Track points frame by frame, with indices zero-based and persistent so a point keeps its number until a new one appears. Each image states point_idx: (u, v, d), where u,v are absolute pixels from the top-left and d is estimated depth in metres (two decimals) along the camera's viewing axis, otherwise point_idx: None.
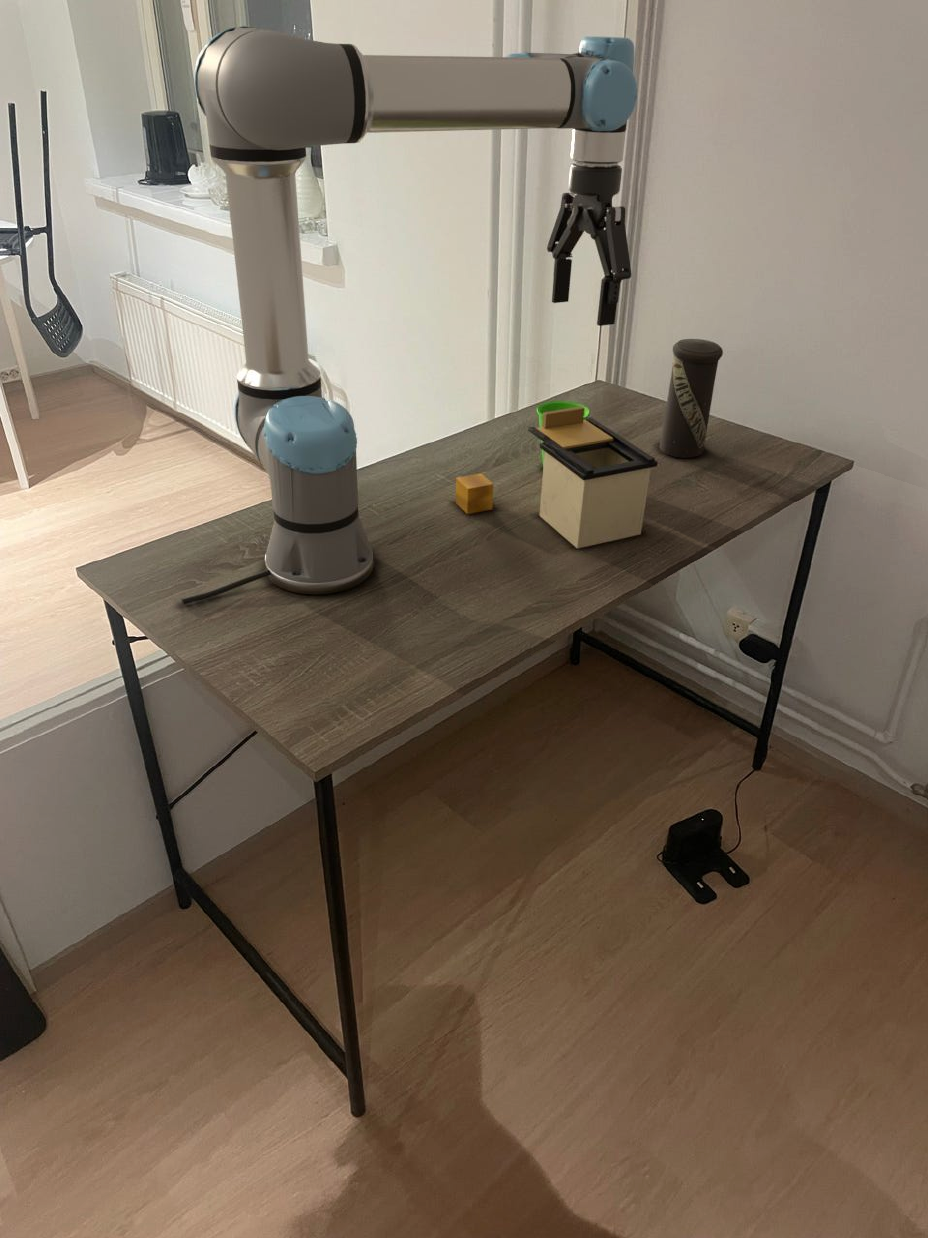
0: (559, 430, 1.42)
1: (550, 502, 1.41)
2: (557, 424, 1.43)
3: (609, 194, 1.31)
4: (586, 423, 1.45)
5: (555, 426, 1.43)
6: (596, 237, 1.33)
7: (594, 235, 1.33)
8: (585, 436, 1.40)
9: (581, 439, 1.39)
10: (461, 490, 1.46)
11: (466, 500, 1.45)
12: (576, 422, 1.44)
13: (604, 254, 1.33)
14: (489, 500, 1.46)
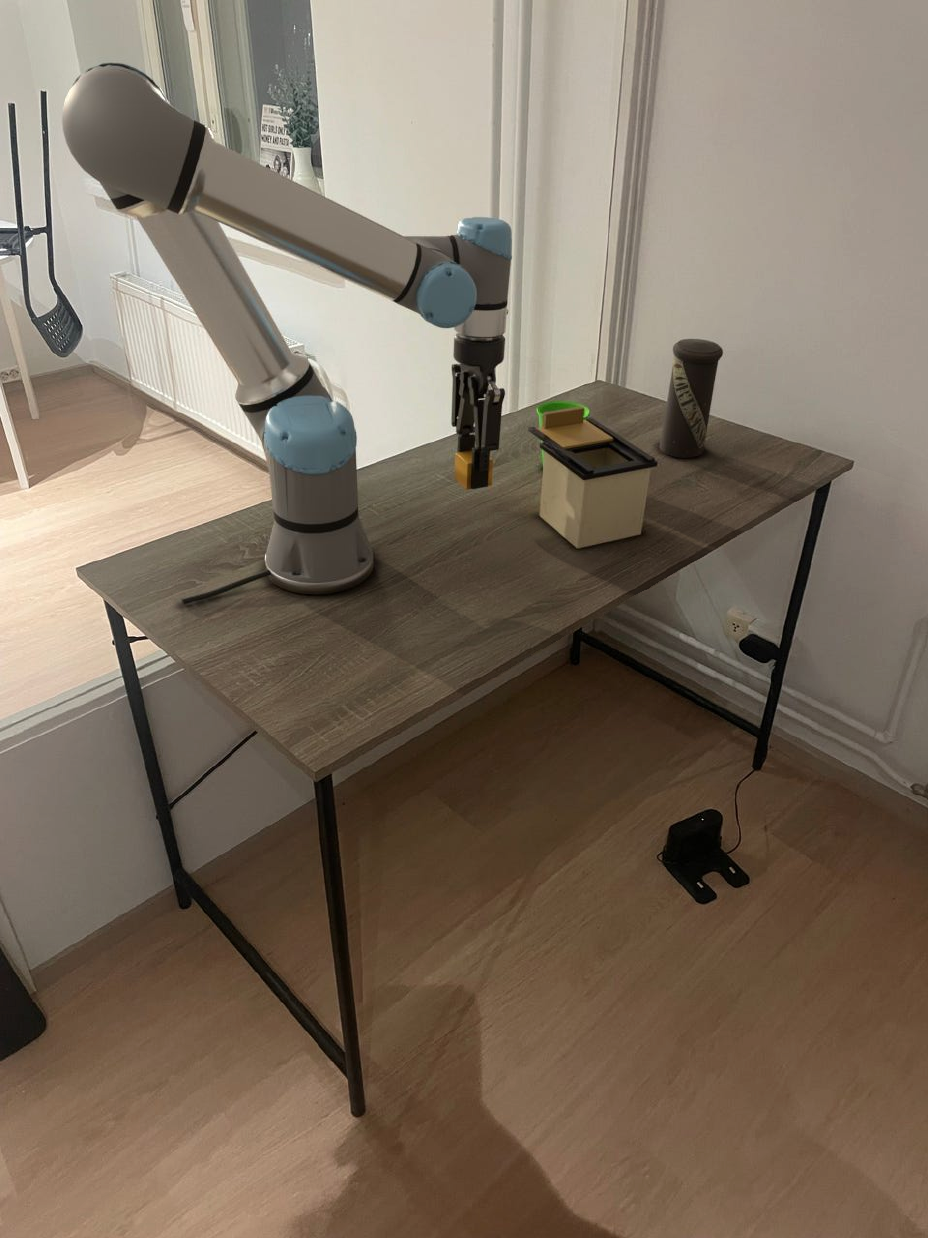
0: (559, 430, 1.42)
1: (550, 502, 1.41)
2: (557, 424, 1.43)
3: (491, 365, 1.32)
4: (586, 423, 1.45)
5: (555, 426, 1.43)
6: (475, 407, 1.36)
7: (473, 405, 1.36)
8: (585, 436, 1.40)
9: (581, 439, 1.39)
10: (460, 466, 1.43)
11: (465, 475, 1.42)
12: (576, 422, 1.44)
13: (478, 427, 1.37)
14: (489, 476, 1.44)
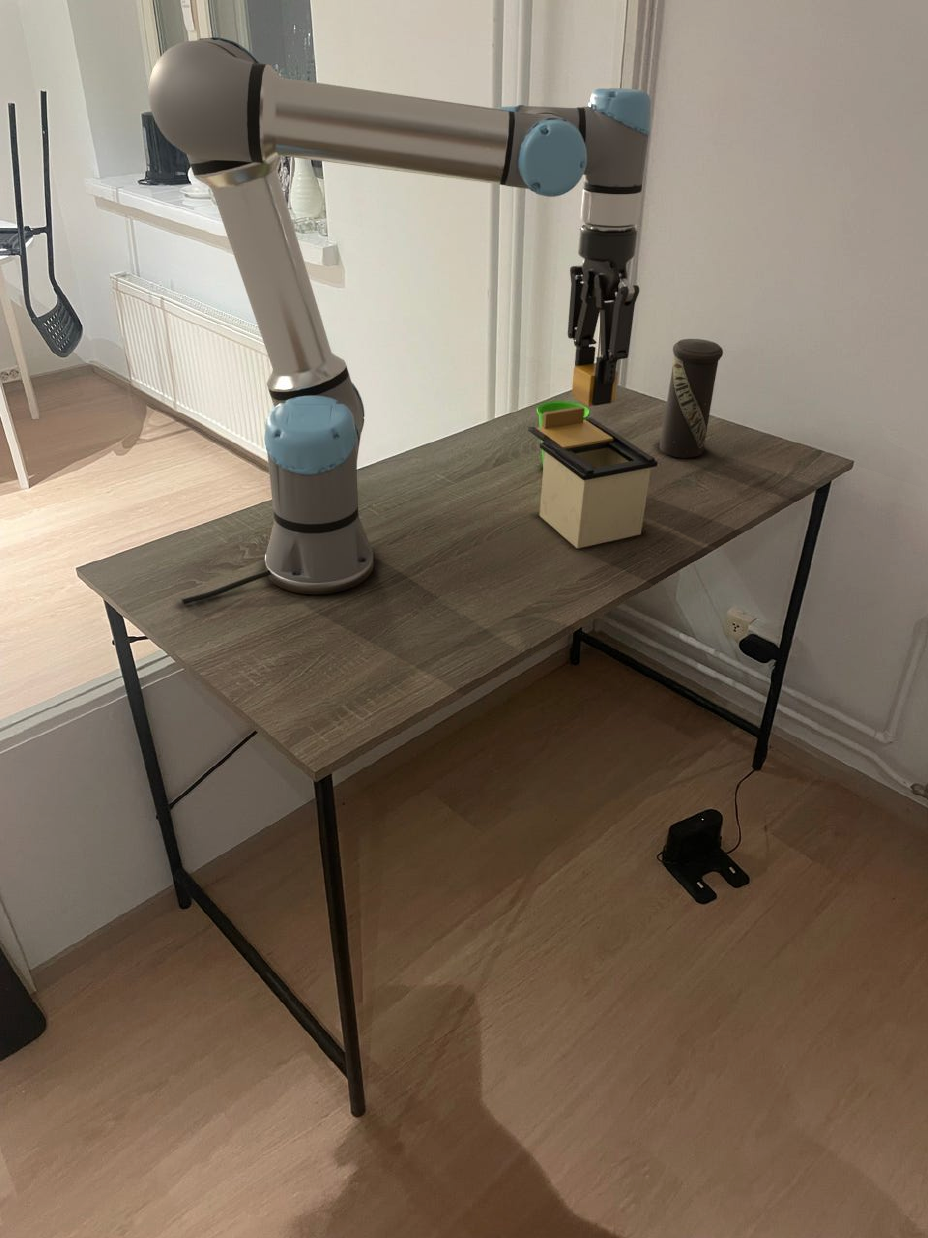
0: (559, 430, 1.42)
1: (550, 502, 1.41)
2: (557, 424, 1.43)
3: (623, 260, 1.18)
4: (586, 423, 1.45)
5: (555, 426, 1.43)
6: (602, 309, 1.22)
7: (600, 307, 1.22)
8: (585, 436, 1.40)
9: (581, 439, 1.39)
10: (581, 380, 1.30)
11: (587, 390, 1.29)
12: (576, 422, 1.44)
13: (605, 332, 1.23)
14: (612, 391, 1.30)
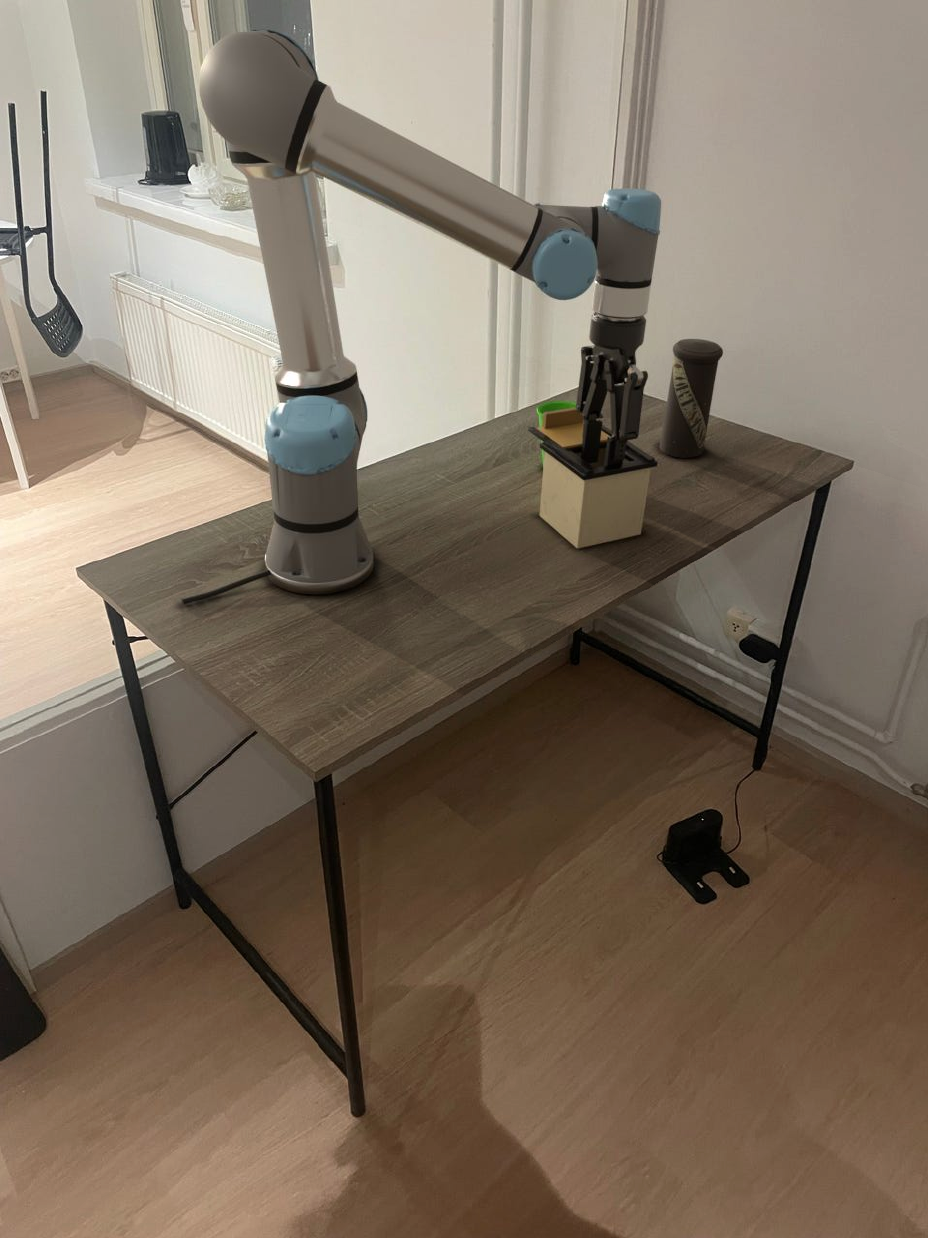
0: (559, 430, 1.42)
1: (550, 502, 1.41)
2: (557, 424, 1.43)
3: (632, 348, 1.24)
4: None
5: (555, 426, 1.43)
6: (612, 392, 1.28)
7: (610, 390, 1.27)
8: None
9: (581, 439, 1.39)
10: None
11: None
12: (576, 422, 1.44)
13: (615, 414, 1.28)
14: None
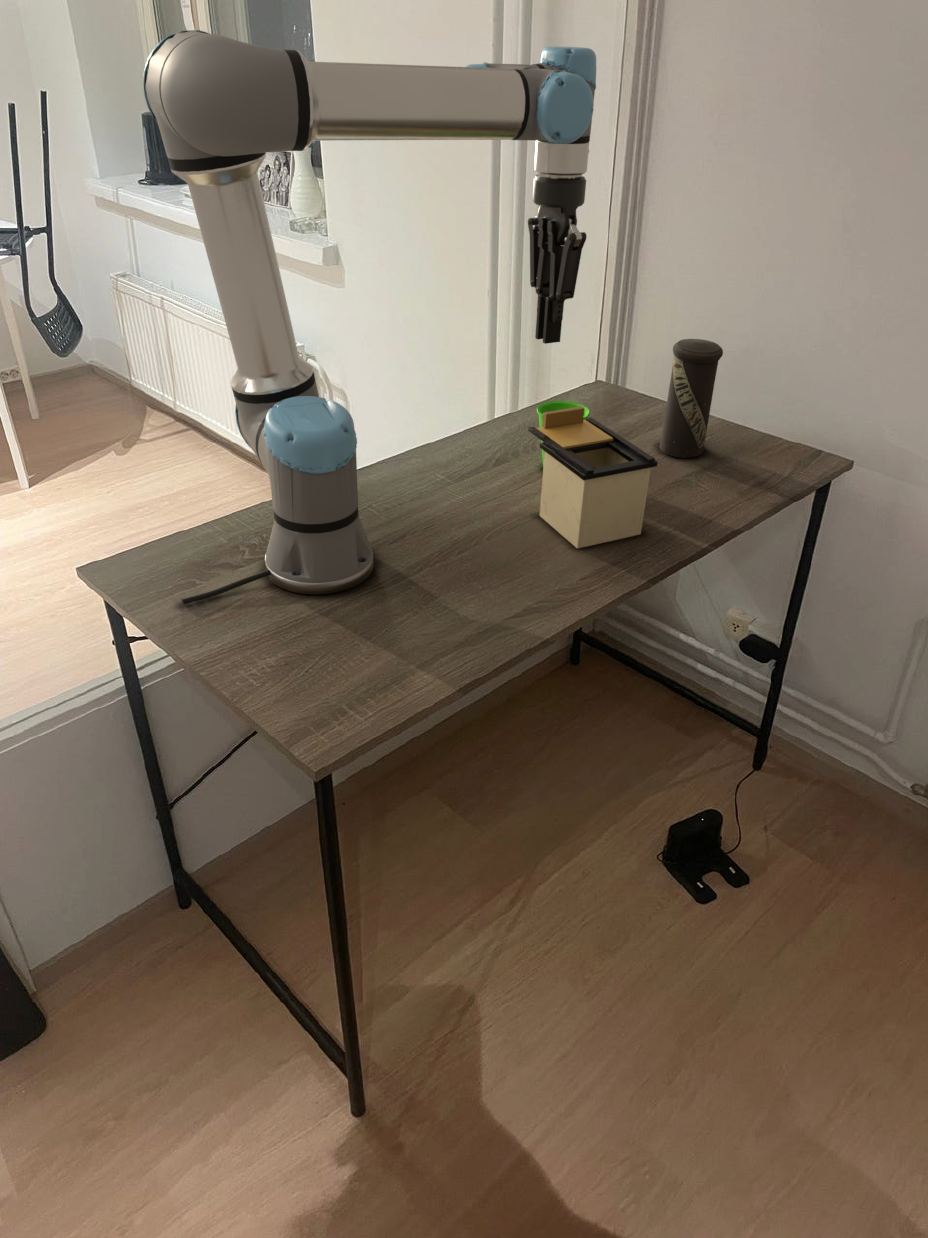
0: (559, 430, 1.42)
1: (550, 502, 1.41)
2: (557, 424, 1.43)
3: (573, 206, 1.29)
4: (586, 423, 1.45)
5: (555, 426, 1.43)
6: (552, 253, 1.33)
7: (551, 251, 1.33)
8: (585, 436, 1.40)
9: (581, 439, 1.39)
10: None
11: None
12: (576, 422, 1.44)
13: (554, 275, 1.35)
14: None
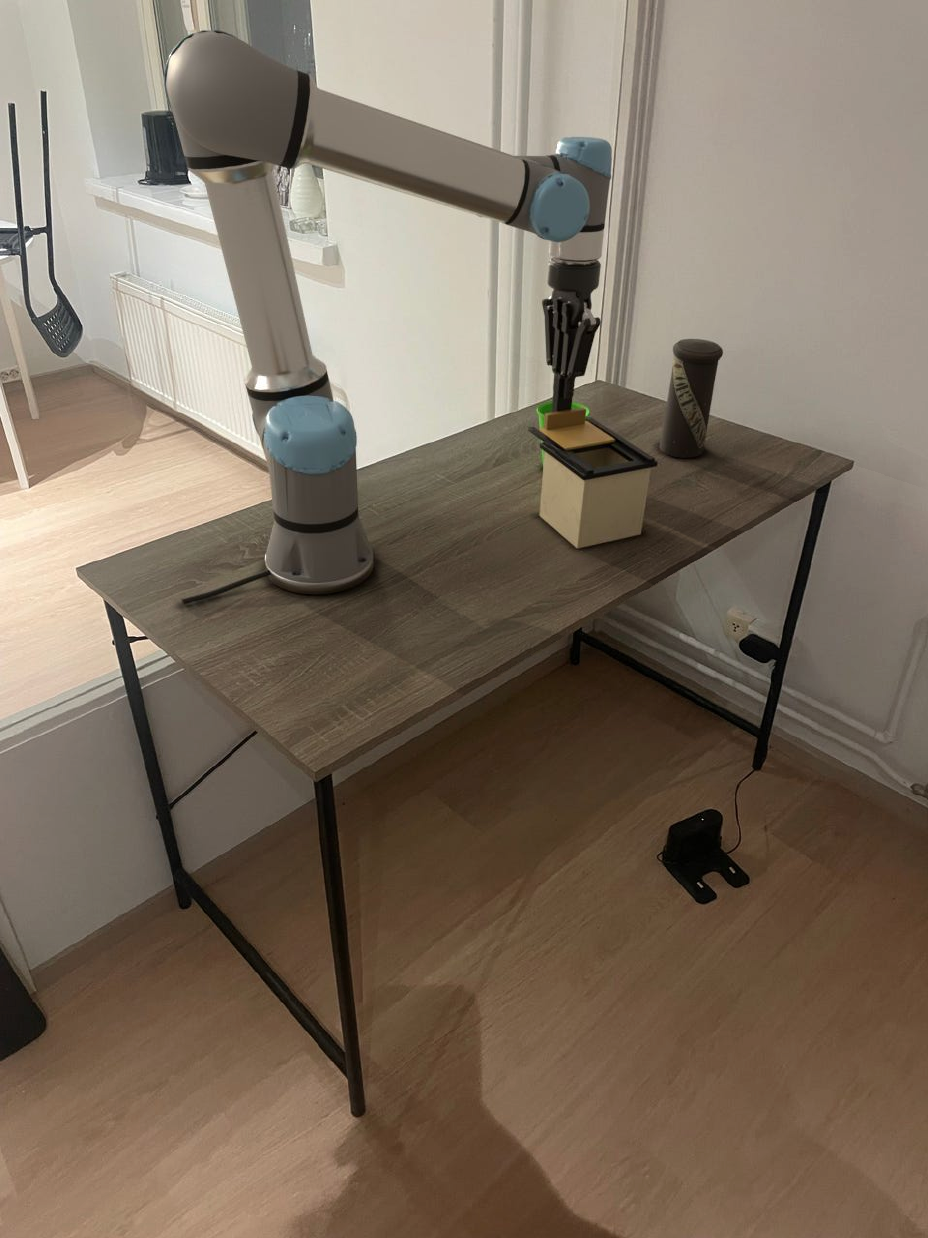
0: (561, 431, 1.42)
1: (550, 502, 1.41)
2: (559, 425, 1.43)
3: (588, 290, 1.30)
4: (588, 424, 1.44)
5: (557, 427, 1.43)
6: (566, 334, 1.35)
7: (564, 332, 1.35)
8: (586, 437, 1.40)
9: (583, 440, 1.39)
10: None
11: None
12: (578, 423, 1.44)
13: (566, 354, 1.36)
14: None
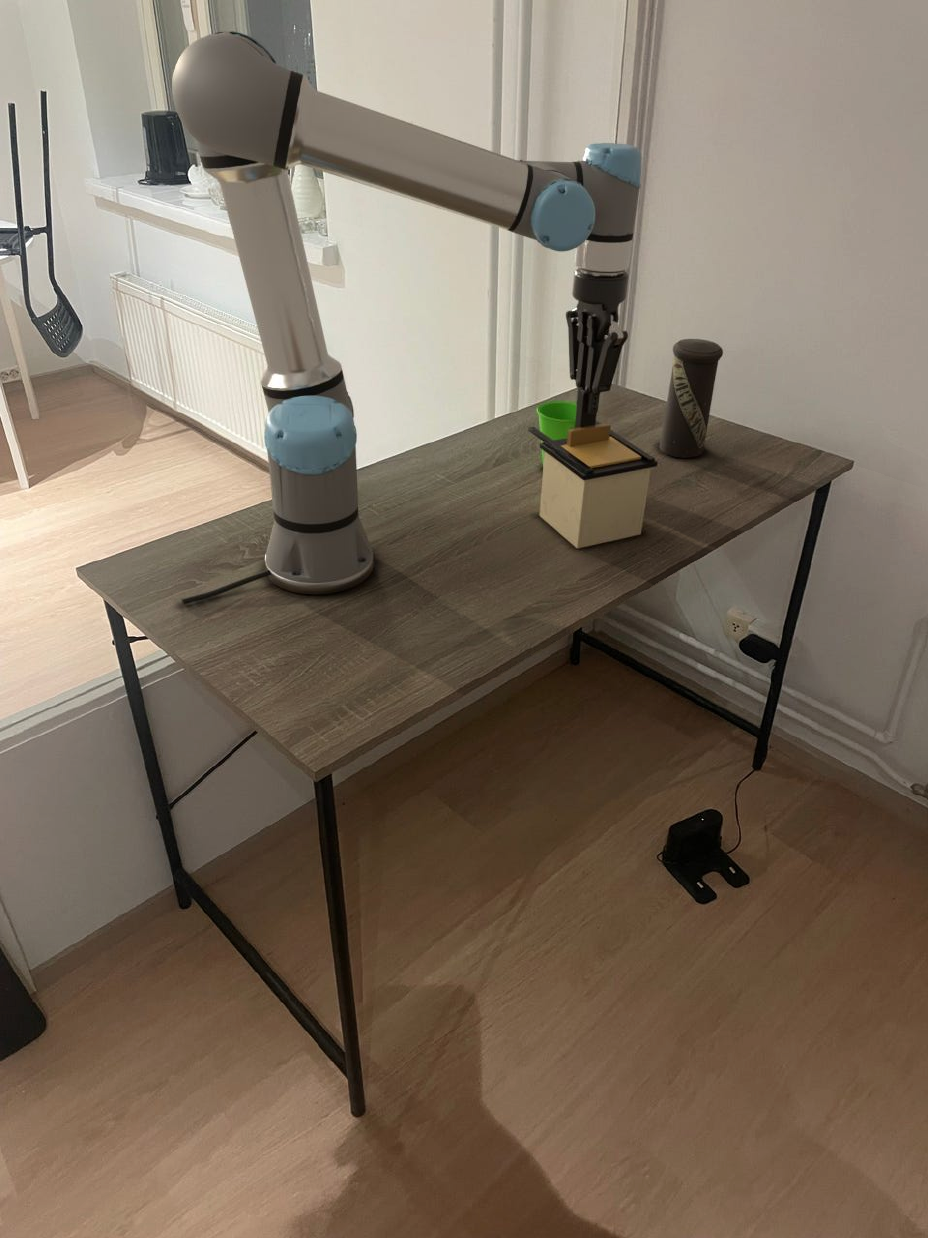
0: (584, 448, 1.36)
1: (550, 502, 1.41)
2: (582, 442, 1.37)
3: (615, 303, 1.25)
4: (612, 440, 1.39)
5: (580, 444, 1.37)
6: (591, 347, 1.30)
7: (590, 346, 1.29)
8: (612, 454, 1.35)
9: (608, 458, 1.34)
10: None
11: None
12: (602, 439, 1.39)
13: (591, 369, 1.31)
14: None
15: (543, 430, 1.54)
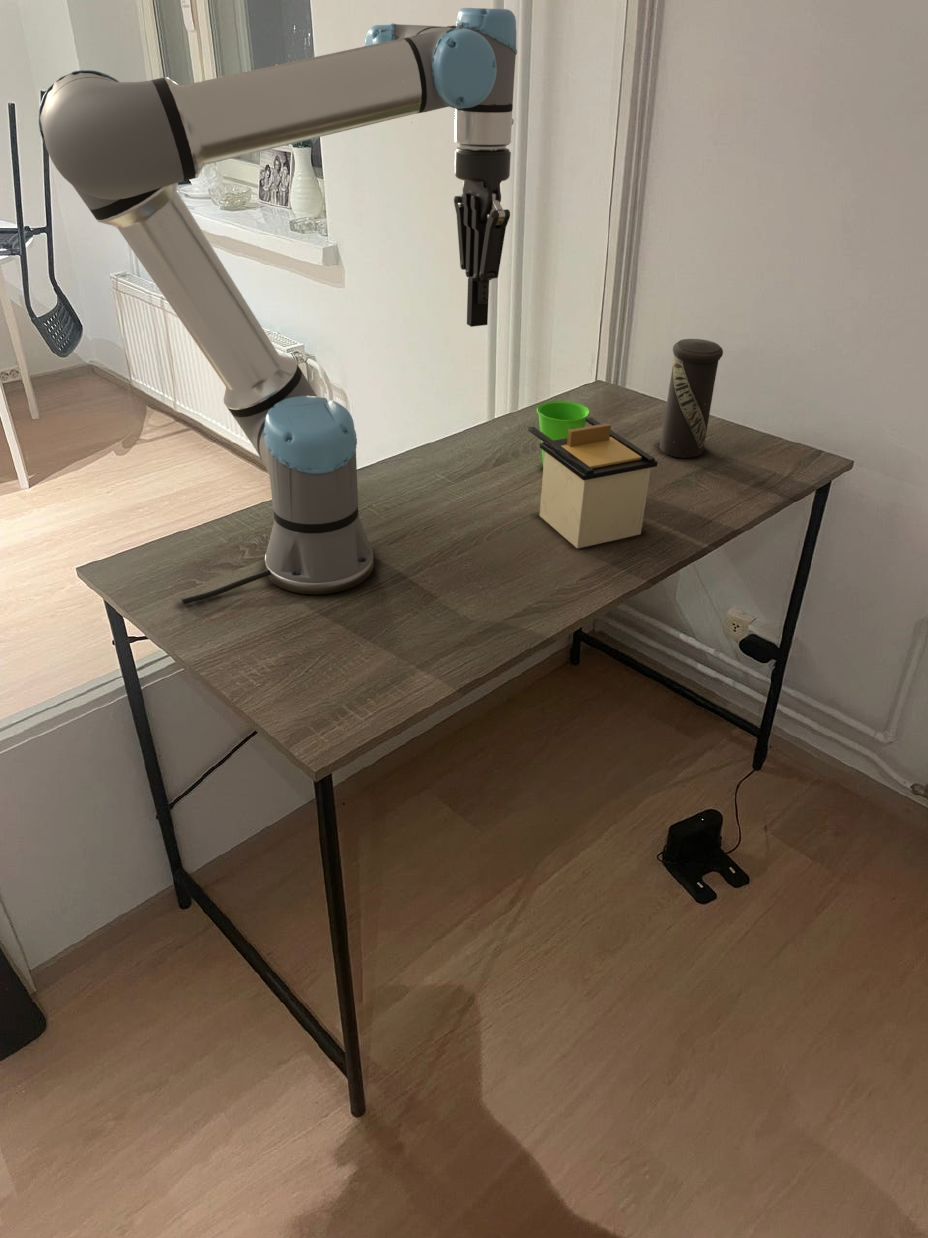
0: (585, 448, 1.36)
1: (550, 502, 1.41)
2: (582, 442, 1.37)
3: (496, 180, 1.21)
4: (612, 440, 1.39)
5: (580, 444, 1.37)
6: (476, 231, 1.26)
7: (474, 229, 1.26)
8: (612, 454, 1.35)
9: (608, 458, 1.34)
10: None
11: None
12: (602, 439, 1.39)
13: (478, 253, 1.27)
14: None
15: (543, 430, 1.54)
